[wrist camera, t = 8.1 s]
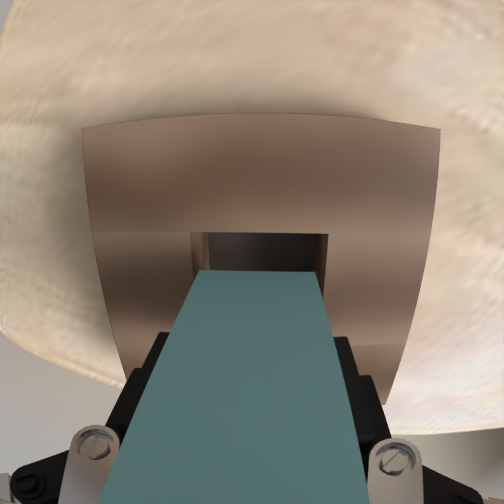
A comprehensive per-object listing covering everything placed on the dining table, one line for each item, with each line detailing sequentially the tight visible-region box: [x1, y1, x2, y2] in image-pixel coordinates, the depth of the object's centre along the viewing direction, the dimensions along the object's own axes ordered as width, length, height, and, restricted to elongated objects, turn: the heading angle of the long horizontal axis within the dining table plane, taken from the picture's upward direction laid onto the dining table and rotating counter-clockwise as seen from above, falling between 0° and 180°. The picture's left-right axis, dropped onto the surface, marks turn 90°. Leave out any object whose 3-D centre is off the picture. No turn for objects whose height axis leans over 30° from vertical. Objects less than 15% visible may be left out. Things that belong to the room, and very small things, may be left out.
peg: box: [98, 270, 370, 504], centre depth 8 cm, size 4×4×11 cm
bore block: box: [82, 113, 441, 405], centre depth 17 cm, size 16×16×5 cm
